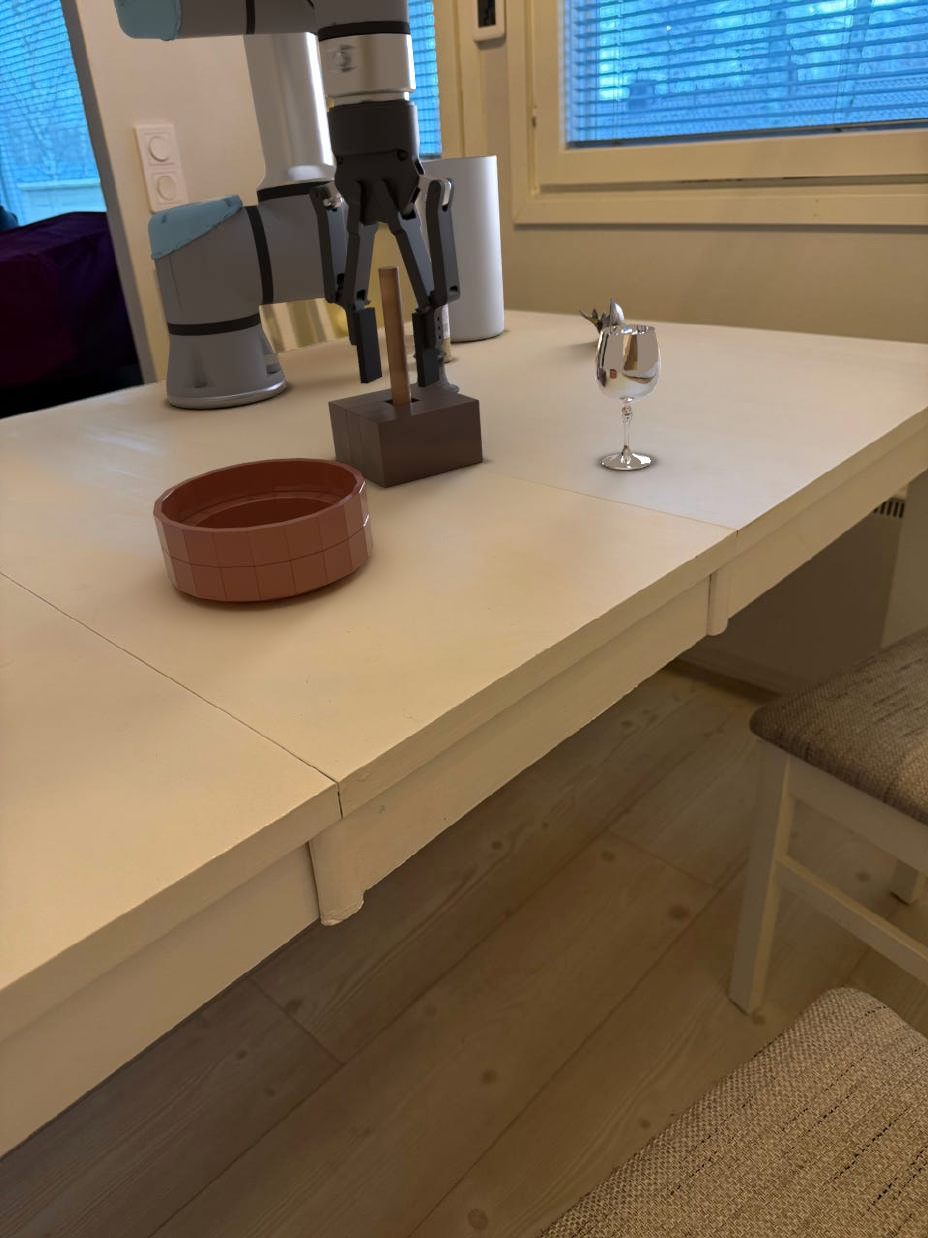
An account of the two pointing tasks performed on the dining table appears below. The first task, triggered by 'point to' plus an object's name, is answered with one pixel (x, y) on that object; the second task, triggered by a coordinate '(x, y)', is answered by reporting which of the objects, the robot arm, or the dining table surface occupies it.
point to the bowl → (264, 529)
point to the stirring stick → (395, 334)
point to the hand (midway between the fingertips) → (399, 381)
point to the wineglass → (627, 378)
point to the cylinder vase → (472, 245)
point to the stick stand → (406, 433)
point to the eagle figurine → (610, 320)
